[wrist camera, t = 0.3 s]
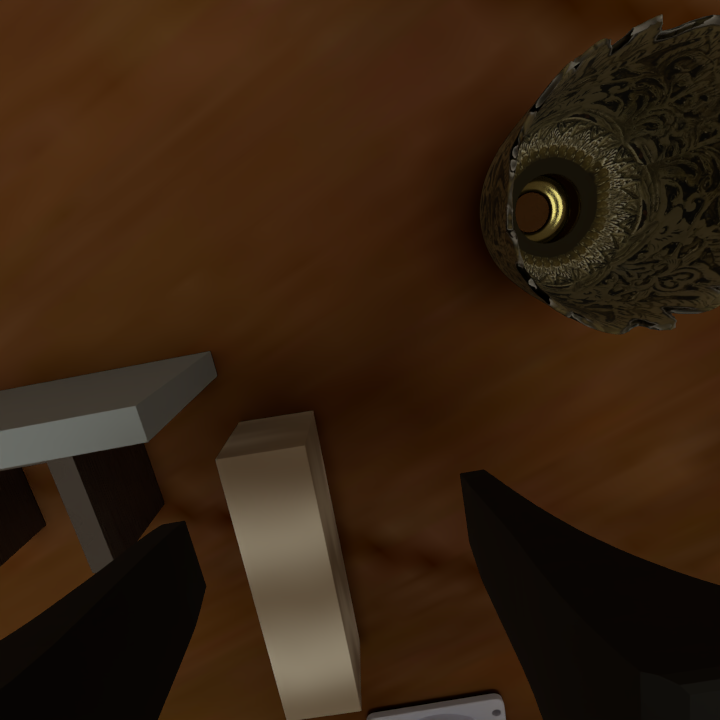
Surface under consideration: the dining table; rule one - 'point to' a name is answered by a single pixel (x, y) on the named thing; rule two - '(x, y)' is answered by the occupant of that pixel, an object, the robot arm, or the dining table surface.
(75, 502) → the bracket
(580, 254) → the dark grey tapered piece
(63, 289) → the dining table surface
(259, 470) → the rail
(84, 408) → the backboard
